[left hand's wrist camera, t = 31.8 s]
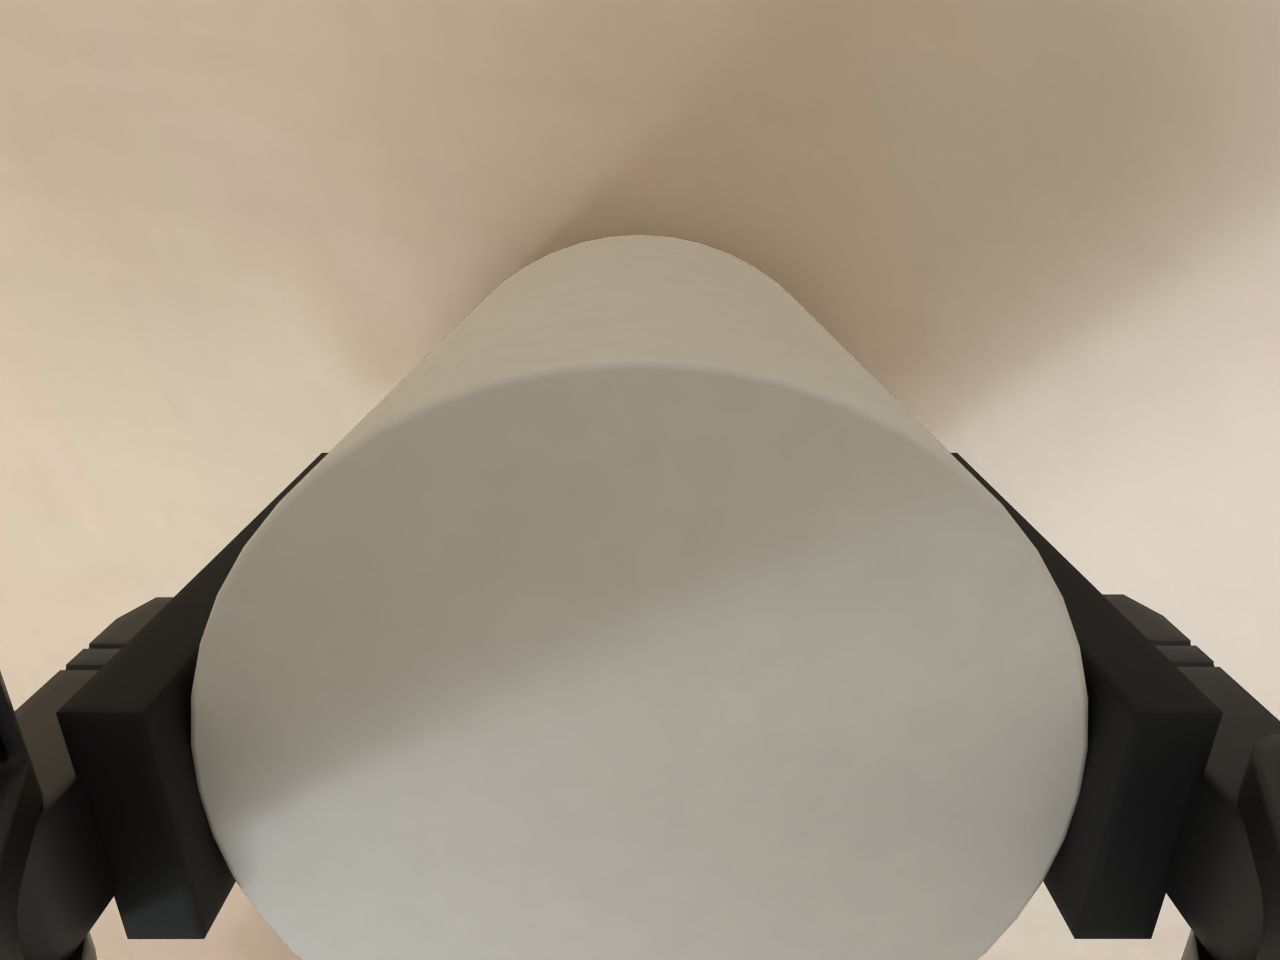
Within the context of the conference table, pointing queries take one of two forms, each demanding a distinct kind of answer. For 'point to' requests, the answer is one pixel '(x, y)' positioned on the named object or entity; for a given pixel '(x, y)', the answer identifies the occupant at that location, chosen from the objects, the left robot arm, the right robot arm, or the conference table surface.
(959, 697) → the canister
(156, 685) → the left robot arm
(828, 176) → the conference table surface
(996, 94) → the conference table surface
